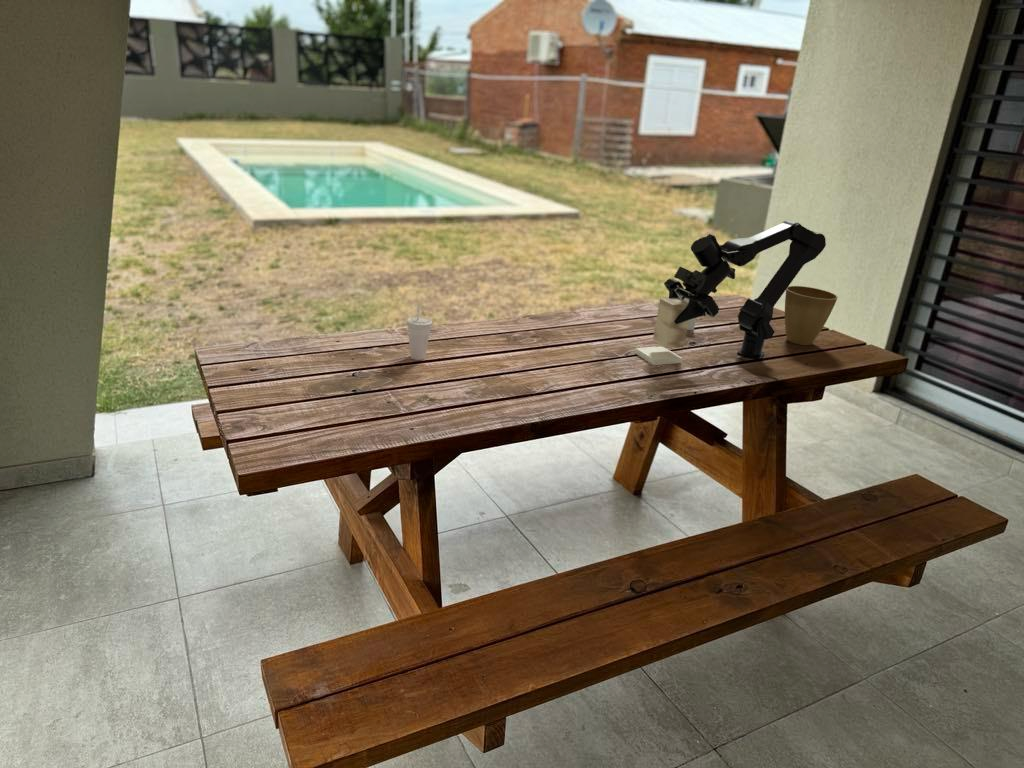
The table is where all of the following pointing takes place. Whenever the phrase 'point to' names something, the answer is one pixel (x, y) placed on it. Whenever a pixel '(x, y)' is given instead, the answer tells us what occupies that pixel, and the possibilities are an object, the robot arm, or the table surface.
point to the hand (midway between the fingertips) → (668, 319)
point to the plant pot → (806, 313)
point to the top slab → (658, 355)
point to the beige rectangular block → (670, 323)
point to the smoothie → (418, 335)
